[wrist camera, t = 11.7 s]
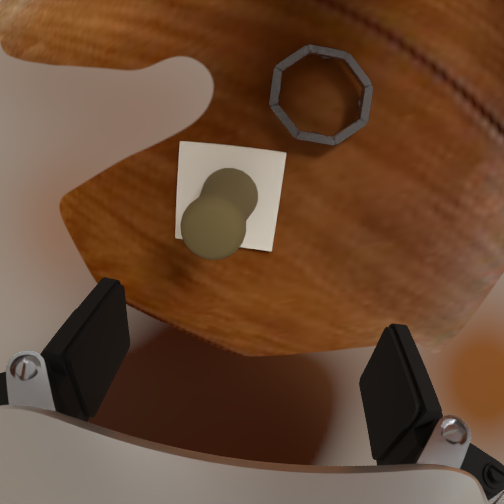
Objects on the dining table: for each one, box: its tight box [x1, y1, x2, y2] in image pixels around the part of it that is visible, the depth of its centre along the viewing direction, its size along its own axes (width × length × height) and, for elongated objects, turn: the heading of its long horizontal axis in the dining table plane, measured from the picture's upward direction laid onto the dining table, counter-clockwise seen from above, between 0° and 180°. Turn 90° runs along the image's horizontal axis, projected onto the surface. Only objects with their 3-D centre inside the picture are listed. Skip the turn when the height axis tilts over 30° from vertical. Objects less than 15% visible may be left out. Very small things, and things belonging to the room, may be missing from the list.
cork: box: [180, 168, 258, 260], centre depth 29 cm, size 6×6×11 cm
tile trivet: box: [175, 141, 286, 251], centre depth 34 cm, size 11×11×1 cm
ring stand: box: [269, 44, 373, 145], centre depth 28 cm, size 10×10×2 cm
